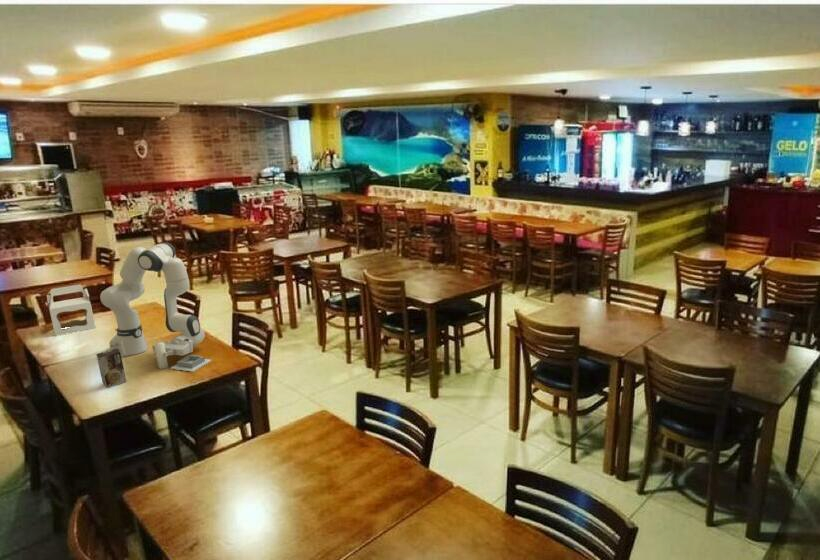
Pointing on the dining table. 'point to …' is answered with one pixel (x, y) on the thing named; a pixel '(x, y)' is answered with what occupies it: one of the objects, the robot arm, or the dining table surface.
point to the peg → (161, 355)
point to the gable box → (70, 306)
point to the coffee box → (111, 368)
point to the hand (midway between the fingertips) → (159, 354)
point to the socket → (191, 363)
